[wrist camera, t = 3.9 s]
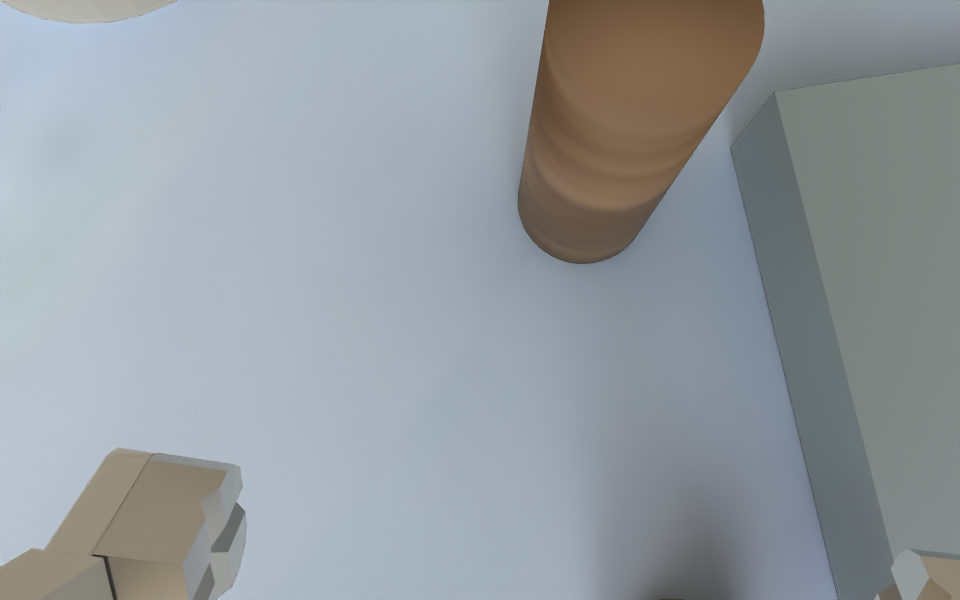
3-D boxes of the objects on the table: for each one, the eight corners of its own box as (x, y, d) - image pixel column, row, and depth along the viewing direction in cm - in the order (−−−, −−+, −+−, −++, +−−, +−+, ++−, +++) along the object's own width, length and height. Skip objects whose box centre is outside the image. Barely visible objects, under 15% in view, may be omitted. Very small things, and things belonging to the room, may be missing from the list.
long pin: (657, 252, 26) (786, 97, 15) (529, 272, 26) (570, 130, 15) (631, 132, 27) (737, -96, 16) (507, 151, 27) (531, -66, 16)
